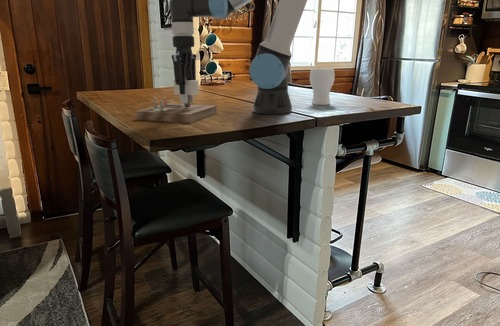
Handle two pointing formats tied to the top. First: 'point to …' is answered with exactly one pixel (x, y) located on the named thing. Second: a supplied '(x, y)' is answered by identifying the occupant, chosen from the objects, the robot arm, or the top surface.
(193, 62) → the robot arm
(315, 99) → the cup
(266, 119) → the top surface
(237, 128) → the top surface
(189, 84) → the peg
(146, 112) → the board
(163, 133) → the top surface
